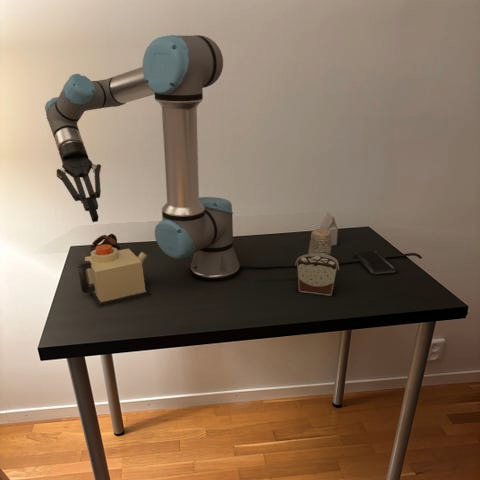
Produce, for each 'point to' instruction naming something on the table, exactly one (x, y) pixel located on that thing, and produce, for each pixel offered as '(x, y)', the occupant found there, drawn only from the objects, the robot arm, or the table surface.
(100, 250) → the button
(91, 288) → the kettle handle and spout
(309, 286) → the food container
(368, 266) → the phone
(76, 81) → the robot arm
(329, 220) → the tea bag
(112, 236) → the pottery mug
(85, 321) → the table surface
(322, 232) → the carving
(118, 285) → the kettle
